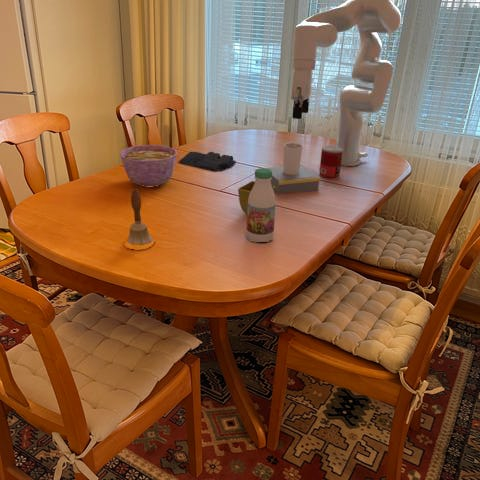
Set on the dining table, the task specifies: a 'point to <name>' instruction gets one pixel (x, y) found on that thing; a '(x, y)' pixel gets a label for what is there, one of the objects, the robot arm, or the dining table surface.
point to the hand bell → (138, 223)
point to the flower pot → (246, 195)
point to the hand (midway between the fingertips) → (300, 115)
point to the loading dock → (294, 180)
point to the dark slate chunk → (208, 161)
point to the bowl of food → (149, 164)
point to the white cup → (292, 158)
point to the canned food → (330, 162)
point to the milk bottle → (261, 208)
